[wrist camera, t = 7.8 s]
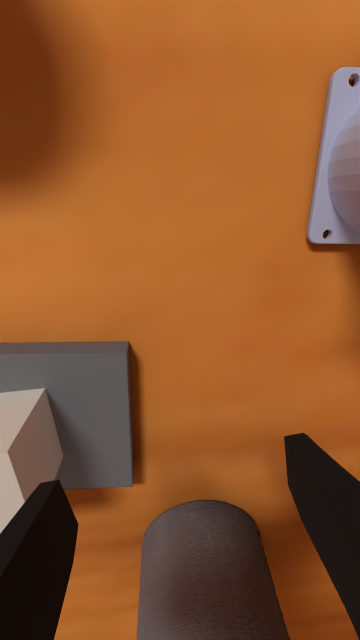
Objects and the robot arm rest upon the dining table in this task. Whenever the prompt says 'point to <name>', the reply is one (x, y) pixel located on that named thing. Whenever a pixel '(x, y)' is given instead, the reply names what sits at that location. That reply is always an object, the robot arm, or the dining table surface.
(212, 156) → the dining table surface
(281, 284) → the dining table surface
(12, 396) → the cube
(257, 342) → the dining table surface
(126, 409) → the serving board
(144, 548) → the pillar candle
